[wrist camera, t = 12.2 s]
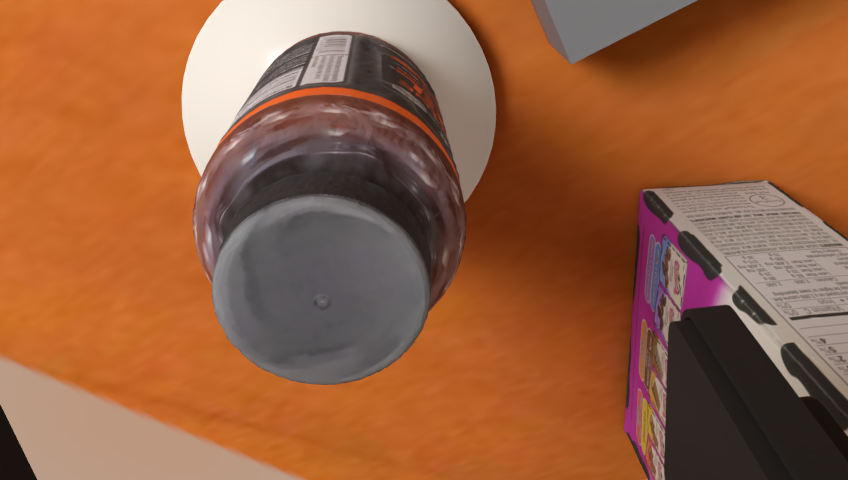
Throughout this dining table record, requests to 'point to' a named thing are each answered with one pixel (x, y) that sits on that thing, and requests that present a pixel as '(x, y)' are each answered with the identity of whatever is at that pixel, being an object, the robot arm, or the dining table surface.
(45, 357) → the dining table surface
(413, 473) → the dining table surface
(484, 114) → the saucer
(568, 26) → the socket block
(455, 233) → the supplement bottle
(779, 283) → the candy bar box
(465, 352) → the dining table surface
